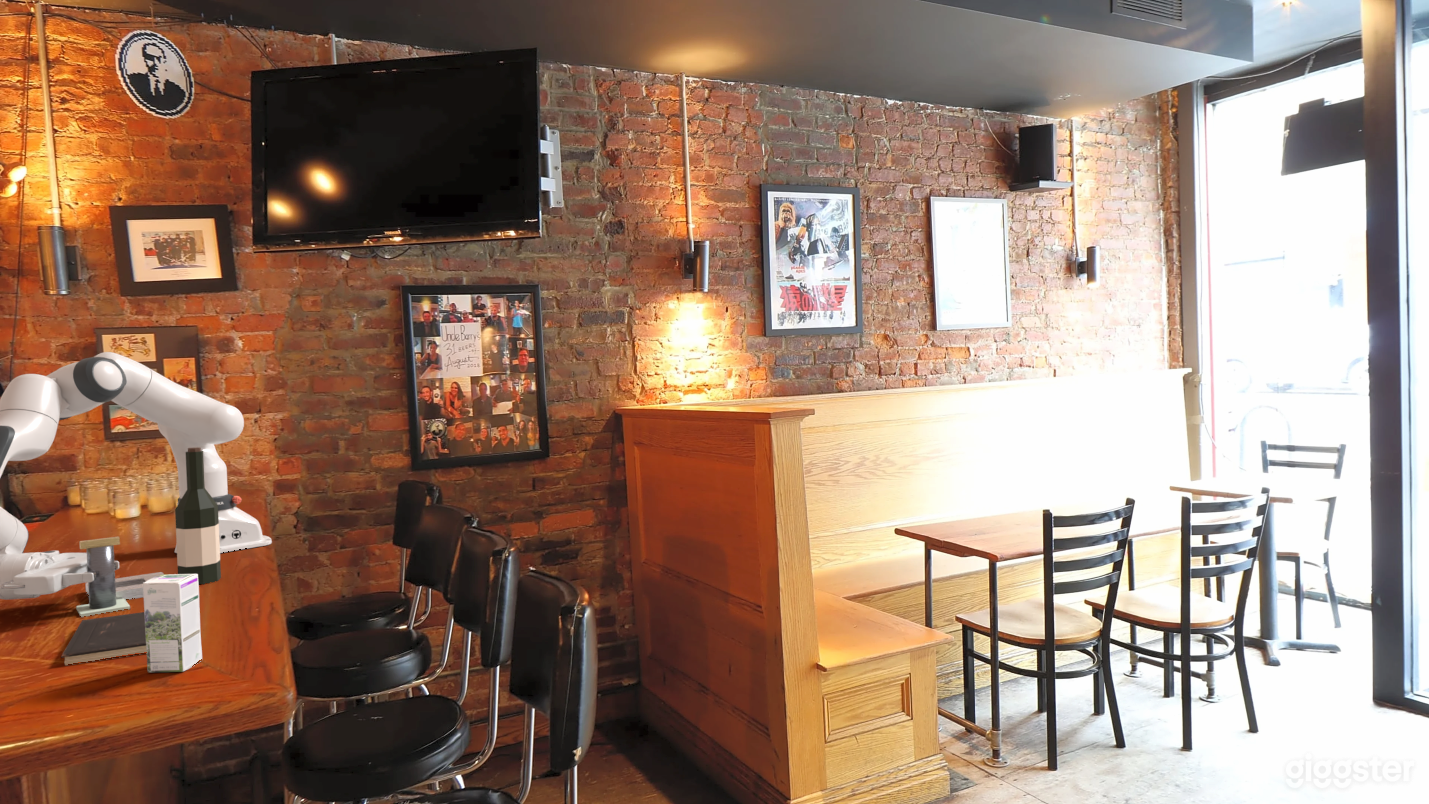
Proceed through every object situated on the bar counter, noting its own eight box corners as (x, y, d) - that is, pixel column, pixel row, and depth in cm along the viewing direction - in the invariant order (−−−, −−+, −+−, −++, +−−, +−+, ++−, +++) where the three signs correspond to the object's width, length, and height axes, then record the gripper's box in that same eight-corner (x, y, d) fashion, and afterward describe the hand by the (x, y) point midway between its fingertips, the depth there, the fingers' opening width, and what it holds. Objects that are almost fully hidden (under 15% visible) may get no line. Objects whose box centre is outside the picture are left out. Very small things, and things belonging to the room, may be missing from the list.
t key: (120, 600, 177) (117, 535, 177) (123, 605, 174) (120, 538, 173) (82, 606, 173) (78, 540, 172) (84, 611, 170) (81, 543, 169)
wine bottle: (229, 576, 199) (224, 445, 198) (204, 585, 191) (198, 449, 190) (195, 576, 200) (189, 446, 199) (169, 585, 192) (163, 449, 190)
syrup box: (203, 660, 142) (199, 571, 141) (182, 673, 136) (178, 580, 135) (168, 661, 141) (164, 572, 141) (145, 674, 136) (141, 581, 135)
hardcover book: (61, 669, 140) (61, 655, 140) (82, 632, 160) (82, 620, 160) (178, 652, 148) (177, 638, 148) (184, 618, 168) (183, 606, 168)
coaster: (124, 601, 179) (124, 598, 179) (130, 609, 173) (130, 606, 173) (76, 608, 174) (76, 605, 174) (80, 617, 168) (80, 614, 168)
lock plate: (162, 580, 196) (161, 571, 196) (174, 592, 186) (173, 582, 186) (85, 592, 187) (85, 582, 187) (94, 605, 177) (93, 595, 177)
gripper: (-6, 571, 160) (78, 567, 163) (54, 548, 180) (129, 545, 183) (-5, 605, 161) (80, 600, 163) (56, 579, 181) (130, 574, 183)
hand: (106, 571), depth 173 cm, fingers open, 8 cm apart
